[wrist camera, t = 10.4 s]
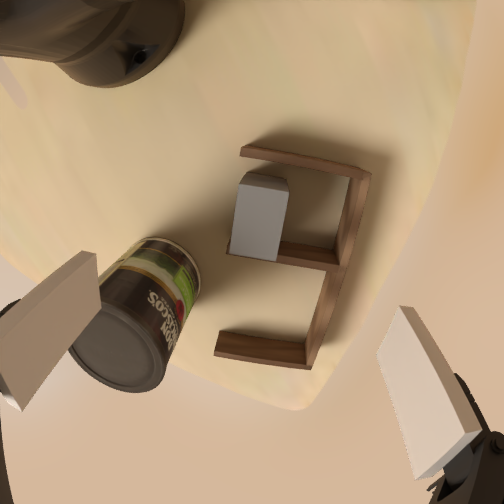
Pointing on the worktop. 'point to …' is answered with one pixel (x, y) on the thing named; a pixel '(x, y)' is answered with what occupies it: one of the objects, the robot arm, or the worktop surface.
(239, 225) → the grey block
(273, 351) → the comb rack
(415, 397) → the robot arm
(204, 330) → the worktop surface
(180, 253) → the coffee can
